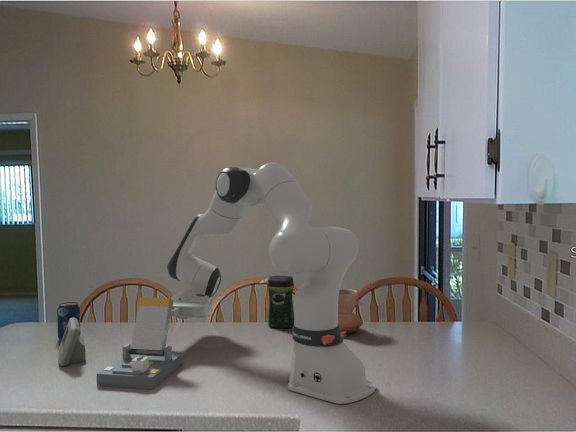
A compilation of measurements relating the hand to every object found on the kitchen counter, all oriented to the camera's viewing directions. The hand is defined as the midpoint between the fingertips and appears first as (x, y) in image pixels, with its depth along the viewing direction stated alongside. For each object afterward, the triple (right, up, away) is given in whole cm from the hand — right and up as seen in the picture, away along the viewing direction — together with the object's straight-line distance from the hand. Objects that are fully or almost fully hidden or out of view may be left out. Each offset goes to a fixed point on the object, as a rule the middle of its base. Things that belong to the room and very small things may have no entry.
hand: (165, 314), depth 138 cm
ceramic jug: (+54, -11, +26) cm, 61 cm away
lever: (-2, -8, -11) cm, 14 cm away
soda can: (-38, -12, +19) cm, 44 cm away
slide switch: (-1, -10, -20) cm, 22 cm away
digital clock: (-28, -13, 0) cm, 31 cm away
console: (-3, -13, -14) cm, 19 cm away
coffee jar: (+34, -11, +33) cm, 49 cm away
